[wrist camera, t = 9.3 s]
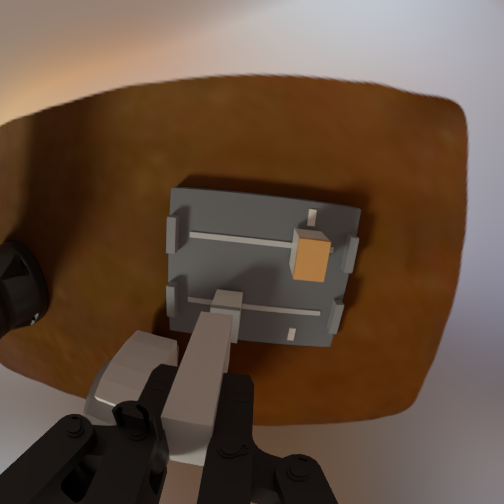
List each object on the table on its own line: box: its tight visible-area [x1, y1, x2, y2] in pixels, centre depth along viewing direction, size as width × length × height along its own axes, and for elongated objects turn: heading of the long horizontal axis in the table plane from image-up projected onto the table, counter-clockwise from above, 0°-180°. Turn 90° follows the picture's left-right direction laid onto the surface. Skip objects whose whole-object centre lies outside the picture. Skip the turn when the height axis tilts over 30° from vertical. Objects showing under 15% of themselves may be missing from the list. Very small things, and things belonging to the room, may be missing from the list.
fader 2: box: [289, 228, 331, 282], centre depth 28 cm, size 3×4×4 cm
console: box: [166, 186, 361, 347], centre depth 32 cm, size 21×18×4 cm
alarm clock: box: [83, 330, 179, 466], centre depth 29 cm, size 18×8×20 cm, turn 169°
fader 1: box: [210, 289, 243, 343], centre depth 30 cm, size 3×4×4 cm
